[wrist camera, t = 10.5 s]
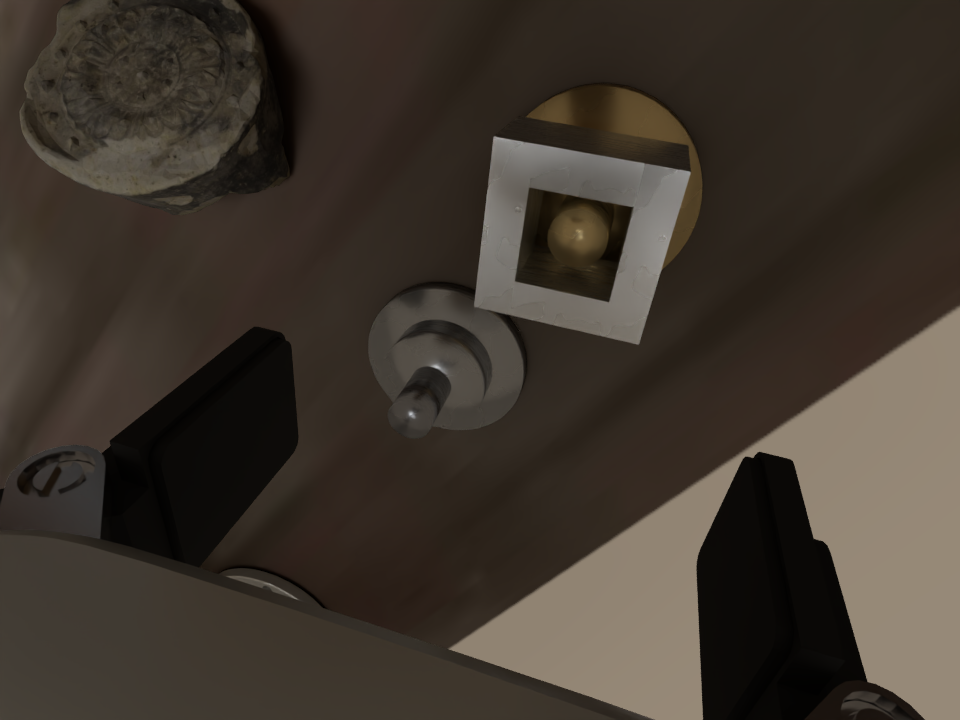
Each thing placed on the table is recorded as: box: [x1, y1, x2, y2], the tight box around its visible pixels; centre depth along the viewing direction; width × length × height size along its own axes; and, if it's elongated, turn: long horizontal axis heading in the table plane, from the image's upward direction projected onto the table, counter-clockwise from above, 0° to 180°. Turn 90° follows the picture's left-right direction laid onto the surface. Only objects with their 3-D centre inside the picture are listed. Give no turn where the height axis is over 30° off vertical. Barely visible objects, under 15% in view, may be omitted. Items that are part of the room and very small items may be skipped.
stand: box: [368, 282, 527, 439], centre depth 31 cm, size 9×9×6 cm
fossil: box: [19, 0, 290, 215], centre depth 27 cm, size 11×9×10 cm
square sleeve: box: [474, 116, 691, 345], centre depth 23 cm, size 6×6×4 cm
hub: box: [526, 83, 702, 270], centre depth 24 cm, size 9×9×6 cm
